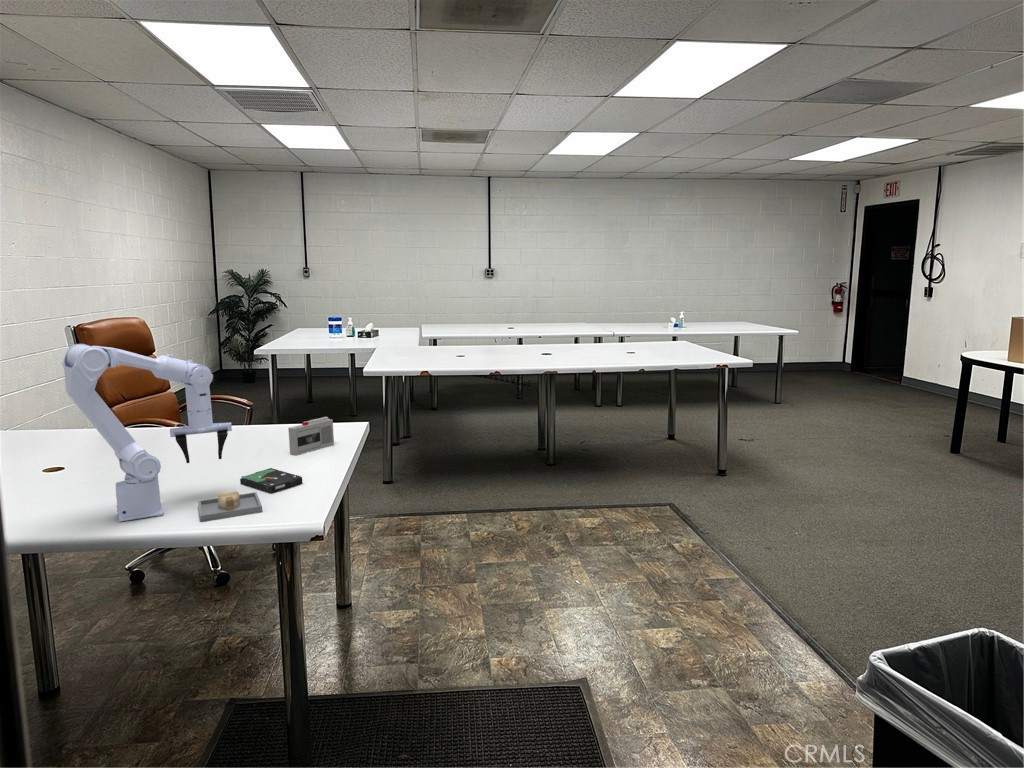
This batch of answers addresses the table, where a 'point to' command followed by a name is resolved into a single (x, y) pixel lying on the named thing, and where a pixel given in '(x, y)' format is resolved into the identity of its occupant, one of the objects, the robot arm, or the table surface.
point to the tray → (213, 512)
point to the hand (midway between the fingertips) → (204, 460)
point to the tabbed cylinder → (228, 500)
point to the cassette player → (311, 436)
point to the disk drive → (271, 480)
